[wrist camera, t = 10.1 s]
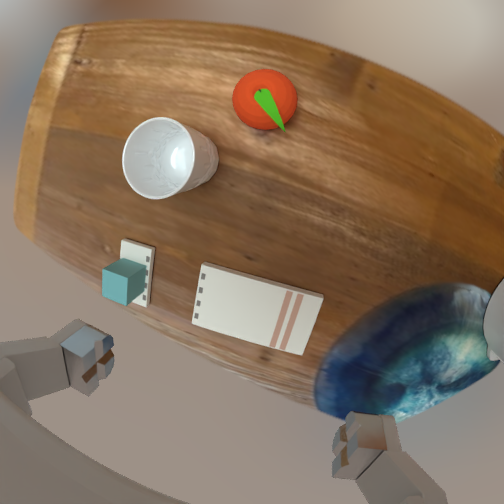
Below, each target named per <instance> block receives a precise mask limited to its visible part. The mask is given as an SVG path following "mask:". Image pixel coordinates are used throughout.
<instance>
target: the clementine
mask: <svg viewBox="0 0 504 504" xmlns="http://www.w3.org/2000/svg"><path fill="white" fill-rule="evenodd" d="M232 100H233V107H234V109H235V111H236V113H237V115H238V117H239V118H240V119H241V120H242V121H243V122H244V123H246V124H247V125H248V126H251V127H253V128H256V129H264V130H268V129H274V128H277V127H280V128H281V129H282V130H283V131H284V132H285V128H284V125H283V124H285V123H286V122H287V121H288V120H289V119H290V118H291V117H292V115H293V114H294V112H295V109H296V107H297V93H296V90H295V88H294V86H293V84H292V83H291V81H290V80H289V79H288V78H287V77H286V76H284V75H283V74H281V73H280V72H277V71H274V70H269V69H261V70H255V71H253V72H250V73H248V74H246V75H245V76H244V77H242V78H241V79H240V81H239V82H238V83H237V84H236V87H235V89H234V91H233V97H232ZM285 133H286V132H285Z"/></svg>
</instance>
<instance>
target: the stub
mask: <svg viewBox="0 0 504 504" xmlns="http://www.w3.org/2000/svg"><path fill="white" fill-rule="evenodd" d="M154 253H155V247H152V246H148V245H145V244H142V243H138V242H135V241H132V240H129V239H123V240H122V241H121V253H120V260H118V261H116V262H114V263H112V264H110V265H109V266H107V267H105V268H103V278H102V296H104V297H106V298H108V299H111V300H113V301H116V302H118V303H121V304H123V305H125V306H127V305H128V304H129V303H131V302H134V303H136V304H139V305H141V306H144V307H147V306H148V305H149V303H150V291H151V280H152V270H153V261H154Z"/></svg>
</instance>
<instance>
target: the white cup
mask: <svg viewBox="0 0 504 504" xmlns="http://www.w3.org/2000/svg"><path fill="white" fill-rule="evenodd" d="M218 162H219V156H218V151H217V147H216V146H215V144H214V143H213V142H212V141H211V139H210V138H209V137H206V136H204V135H203V134H202V133H200V132H198V131H197V130H195V129H193V128H191V127H189V126H186V125H184V124H182V123H180V122H177V121H175V120H173V119H170V118H165V117H157V118H152V119H149V120H147V121H145V122H143V123H141V124H140V125H139V126H138V127H136V128H135V129H134V131H133V132H132V133H131V134H130V136H129V138H128V139H127V142H126V144H125V147H124V151H123V157H122V164H123V171H124V174H125V177H126V179H127V181H128V183H129V184H130V186H131V187H132V188H133V189H134V190H135V191H136V192H137V193H138V194H140V195H142V196H144V197H146V198H150V199H163V198H167V197H170V196H172V195H175V194H178V193H181V192H185V191H187V190H190V189H192V188H195V187H197V186H199V185H201V184H203V183H205V182H207V181H209V180H210V178H211V177H212V176H213V175H214V173H215V172H216V170H217V166H218Z"/></svg>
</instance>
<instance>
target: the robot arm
mask: <svg viewBox="0 0 504 504" xmlns="http://www.w3.org/2000/svg"><path fill="white" fill-rule="evenodd" d="M483 330H484V336H485V339H486V341H487V344H488V349H487V357H488V358H489V359H490V360H491V361H494V360H501V362H503V364H504V279H503V280H502V282H501V283H500V284H499V285H498V287H497V288H496V290H495V292H494V293H493V295H492V297H491V299H490V301H489V304H488V306H487V309H486V313H485V317H484V325H483ZM113 346H114V343H113V337H112V336H111V335H109V334H107V333H104V332H103V331H101V330H99V329H97V328H95V327H93V326H91V325H89V324H87V323H85V322H83V321H82V320H80V319H76V320H74V321H72V322H71V323H69V324H68V325H67V326H65V327H64V328H62V329H61V330H60V331H58V332H57V333H55V334H54V335H53V336H51V337H50V338H47V337H40V338H32V339H24V340H17V341H8V342H0V504H189V503H186V502H183V501H181V500H178V499H175V498H173V497H170V496H167V495H165V494H162V493H160V492H158V491H155V490H153V489H150V488H148V487H146V486H143V485H141V484H139V483H137V482H135V481H133V480H131V479H129V478H127V477H125V476H123V475H121V474H119V473H117V472H115V471H113V470H111V469H109V468H107V467H106V466H104V465H102V464H100V463H98V462H97V461H95V460H93V459H91V458H90V457H88V456H86V455H85V454H83V453H82V452H80V451H78V450H77V449H75V448H74V447H72V446H71V445H69V444H68V443H66V442H65V441H63V440H62V439H60V438H59V437H57V436H56V435H55V434H53V433H52V432H50V431H49V430H47V429H46V428H45V427H44V426H42V425H41V424H40V423H38V422H37V421H36V420H35V419H33V418H32V417H31V415H32V410H31V408H30V405H29V403H28V401H29V400H32V399H35V398H39V397H42V396H44V395H48V394H51V393H54V392H57V391H60V390H63V389H66V388H69V387H70V386H71V387H72V388H74V389H76V390H78V391H80V392H81V393H83V394H85V395H87V396H90V395H91V394H92V392H93V391H94V390H95V389H96V388H97V387H98V386H99V380H101V379H105V378H106V377H107V376H108V375H109V374H110V373H111V370H112V368H113V365H114V354H113V353H112V351H111V348H112V347H113ZM345 419H346V424H344V425H342V426H340V427H339V429H338V430H337V432H336V434H335V437H334V440H333V445H332V449H333V450H332V451H333V453H334V454H335V456H336V458H335V459H334V461H333V462H332V477H333V478H341V479H350V480H356V483H357V485H358V486H359V488H360V490H361V492H362V493H363V495H364V496H365V498H366V500H367V501H368V503H369V504H448V503H447V498H446V494H445V491H444V490H443V489H442V488H440V486H439V485H437V483H436V482H435V481H434V480H433V479H432V478H431V477H430V476H429V475H428V474H427V473H426V472H425V471H424V470H423V469H422V468H421V467H420V466H419V465H418V464H417V463H416V462H415V461H414V460H413V459H412V458H411V457H410V456H409V455H408V454H407V453H406V452H402V449H401V444H400V440H399V435H398V431H397V427H396V423H395V419H394V417H393V416H389V415H380V414H379V415H378V414H371V413H363V412H356V411H351V412H350V413H349V414H348V415H347V417H346V418H345Z"/></svg>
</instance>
